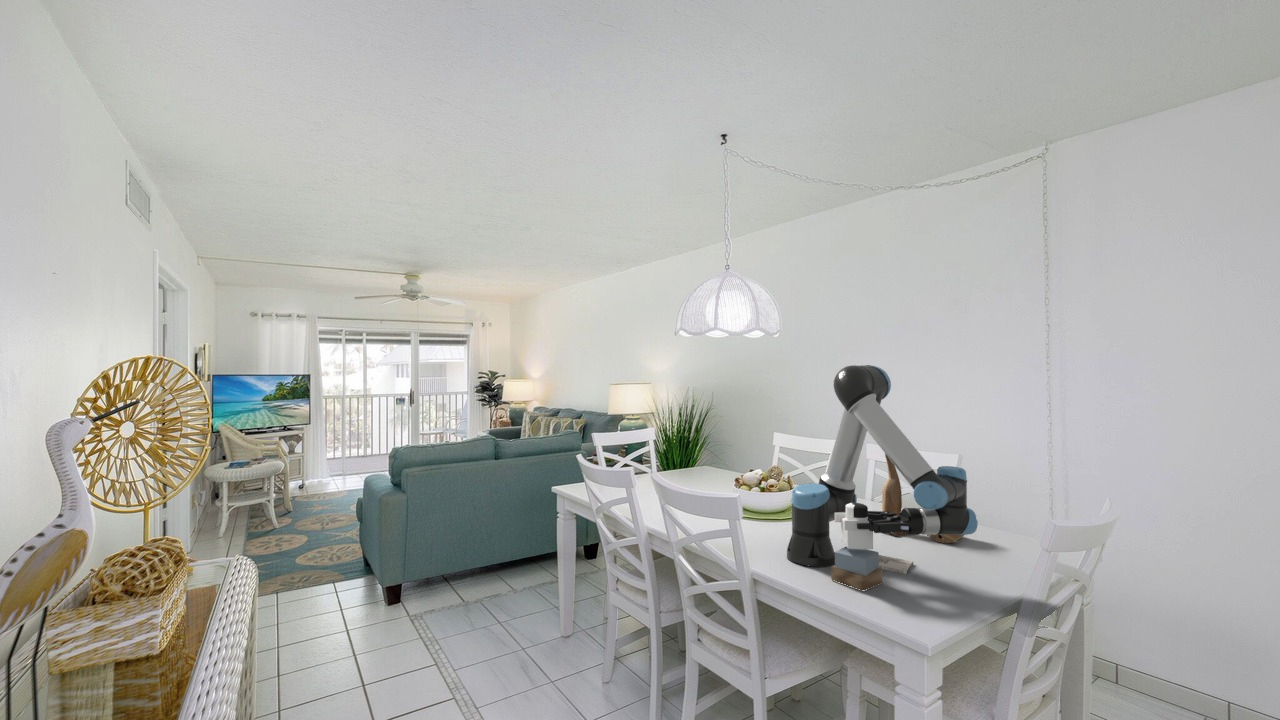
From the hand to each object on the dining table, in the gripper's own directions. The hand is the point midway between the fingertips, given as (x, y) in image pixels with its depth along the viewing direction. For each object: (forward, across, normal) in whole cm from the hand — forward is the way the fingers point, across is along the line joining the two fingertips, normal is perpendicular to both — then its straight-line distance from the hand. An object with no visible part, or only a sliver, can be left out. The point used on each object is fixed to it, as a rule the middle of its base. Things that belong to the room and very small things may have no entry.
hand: (839, 521), depth 163 cm
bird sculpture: (-36, +50, -18) cm, 64 cm away
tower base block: (-5, 0, -18) cm, 18 cm away
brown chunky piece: (-51, +41, -18) cm, 68 cm away
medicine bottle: (-5, 0, -7) cm, 9 cm away
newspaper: (-16, +17, -18) cm, 30 cm away
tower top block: (-5, 0, -13) cm, 14 cm away
